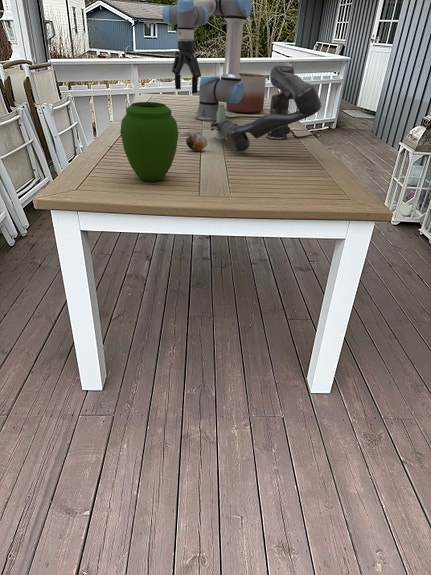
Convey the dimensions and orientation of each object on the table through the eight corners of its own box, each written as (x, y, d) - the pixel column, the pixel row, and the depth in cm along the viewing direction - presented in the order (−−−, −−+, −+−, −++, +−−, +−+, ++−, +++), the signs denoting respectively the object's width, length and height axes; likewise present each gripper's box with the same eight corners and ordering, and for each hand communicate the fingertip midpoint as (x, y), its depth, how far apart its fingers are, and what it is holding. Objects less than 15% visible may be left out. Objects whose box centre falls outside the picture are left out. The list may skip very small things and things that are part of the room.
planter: (267, 114, 272) (271, 77, 261) (229, 113, 268) (232, 76, 257) (257, 108, 294) (260, 73, 282) (223, 107, 289) (224, 72, 278)
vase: (131, 189, 135) (125, 110, 122) (118, 172, 150) (112, 100, 137) (186, 184, 142) (187, 109, 129) (169, 168, 157) (167, 99, 144)
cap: (183, 133, 213) (183, 129, 212) (190, 134, 212) (190, 130, 211) (180, 134, 209) (180, 130, 208) (187, 135, 208) (187, 131, 207)
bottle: (225, 139, 206) (227, 104, 197) (219, 139, 204) (220, 104, 195) (220, 137, 209) (222, 103, 200) (214, 138, 206) (215, 103, 198)
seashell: (206, 149, 186) (206, 130, 181) (207, 152, 181) (208, 133, 177) (185, 148, 184) (185, 130, 180) (186, 152, 180) (186, 133, 175)
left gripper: (163, 39, 194) (165, 88, 206) (195, 42, 178) (195, 95, 190) (176, 39, 198) (177, 87, 210) (209, 42, 183) (208, 94, 194)
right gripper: (213, 139, 191) (205, 131, 205) (242, 139, 195) (232, 131, 209) (214, 122, 187) (205, 115, 201) (243, 122, 191) (233, 115, 205)
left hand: (186, 91), depth 200 cm, fingers open, 13 cm apart
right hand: (219, 123), depth 205 cm, fingers open, 4 cm apart
